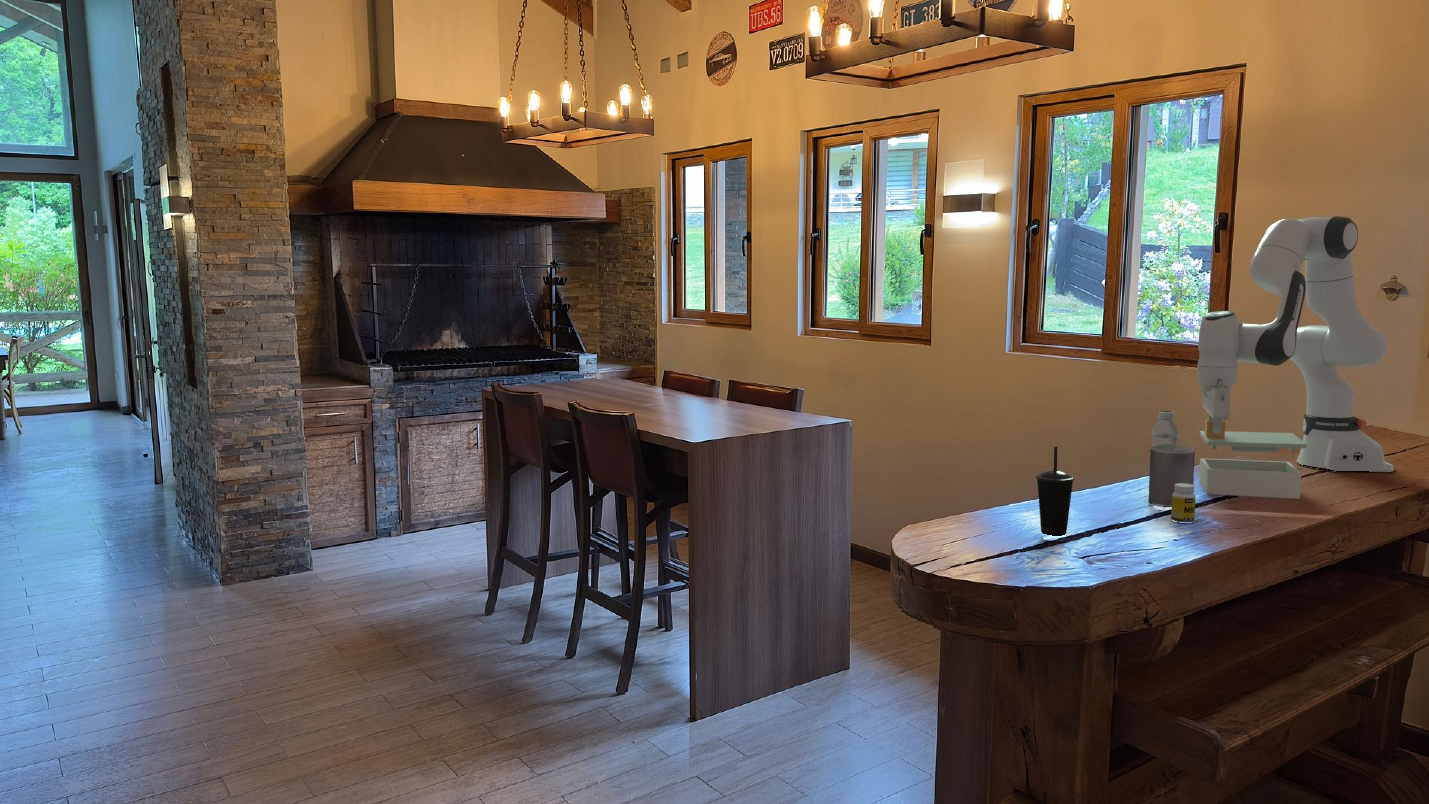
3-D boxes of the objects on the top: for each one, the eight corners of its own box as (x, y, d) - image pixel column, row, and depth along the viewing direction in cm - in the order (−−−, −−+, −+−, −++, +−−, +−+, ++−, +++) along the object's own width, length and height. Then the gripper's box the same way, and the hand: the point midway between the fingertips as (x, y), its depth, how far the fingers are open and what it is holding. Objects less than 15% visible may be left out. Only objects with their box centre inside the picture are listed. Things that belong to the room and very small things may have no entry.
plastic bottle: (1171, 485, 248) (1174, 409, 245) (1181, 491, 241) (1184, 413, 238) (1145, 485, 248) (1148, 409, 246) (1154, 491, 242) (1157, 413, 239)
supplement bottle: (1185, 525, 210) (1186, 488, 209) (1166, 520, 214) (1167, 484, 213) (1199, 522, 212) (1200, 485, 211) (1180, 517, 216) (1181, 481, 215)
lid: (1292, 442, 239) (1293, 417, 238) (1306, 454, 225) (1307, 427, 224) (1199, 440, 247) (1200, 415, 246) (1207, 451, 233) (1208, 425, 232)
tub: (1287, 488, 240) (1288, 461, 240) (1299, 501, 227) (1301, 473, 226) (1199, 484, 247) (1200, 458, 246) (1206, 497, 234) (1207, 469, 233)
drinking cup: (1068, 546, 197) (1070, 451, 194) (1030, 541, 201) (1032, 448, 198) (1076, 537, 203) (1078, 445, 200) (1039, 532, 207) (1041, 442, 204)
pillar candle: (1152, 497, 235) (1154, 438, 233) (1196, 502, 229) (1198, 441, 227) (1144, 506, 227) (1146, 445, 225) (1189, 511, 221) (1191, 448, 219)
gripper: (1238, 382, 225) (1235, 439, 227) (1224, 372, 244) (1222, 425, 246) (1208, 382, 228) (1206, 439, 230) (1197, 372, 247) (1195, 424, 249)
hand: (1214, 431), depth 238 cm, fingers closed on lid, 3 cm apart
